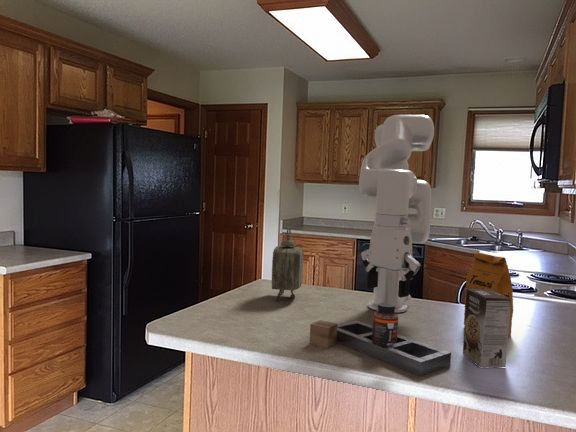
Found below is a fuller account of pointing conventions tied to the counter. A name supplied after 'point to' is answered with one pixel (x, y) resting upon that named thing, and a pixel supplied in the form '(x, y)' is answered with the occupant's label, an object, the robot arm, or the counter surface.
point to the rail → (394, 349)
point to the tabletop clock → (287, 267)
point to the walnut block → (323, 333)
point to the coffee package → (491, 278)
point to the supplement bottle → (385, 324)
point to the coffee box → (486, 327)
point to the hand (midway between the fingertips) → (387, 291)
